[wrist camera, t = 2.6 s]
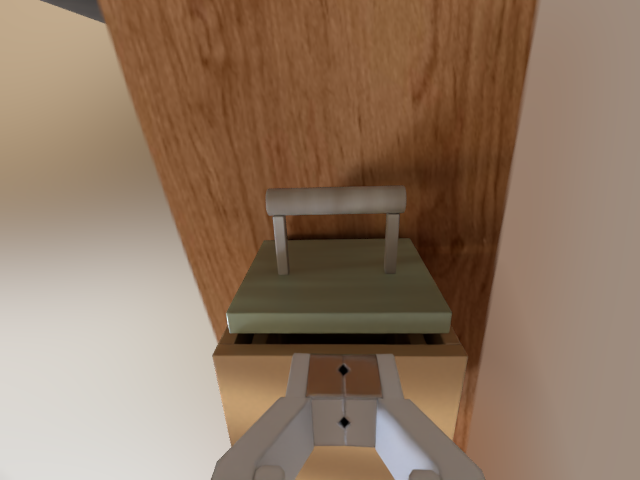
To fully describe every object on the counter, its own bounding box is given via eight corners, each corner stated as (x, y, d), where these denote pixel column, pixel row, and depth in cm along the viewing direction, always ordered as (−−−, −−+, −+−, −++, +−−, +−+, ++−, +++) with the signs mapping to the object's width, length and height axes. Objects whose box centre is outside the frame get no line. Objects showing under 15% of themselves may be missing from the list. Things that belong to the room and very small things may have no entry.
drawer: (256, 171, 21) (207, 212, 13) (415, 167, 21) (468, 207, 12) (279, 381, 28) (257, 492, 20) (398, 381, 28) (424, 496, 20)
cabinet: (260, 256, 24) (211, 355, 15) (413, 254, 24) (468, 356, 14) (276, 395, 30) (249, 534, 20) (401, 397, 30) (434, 540, 20)
